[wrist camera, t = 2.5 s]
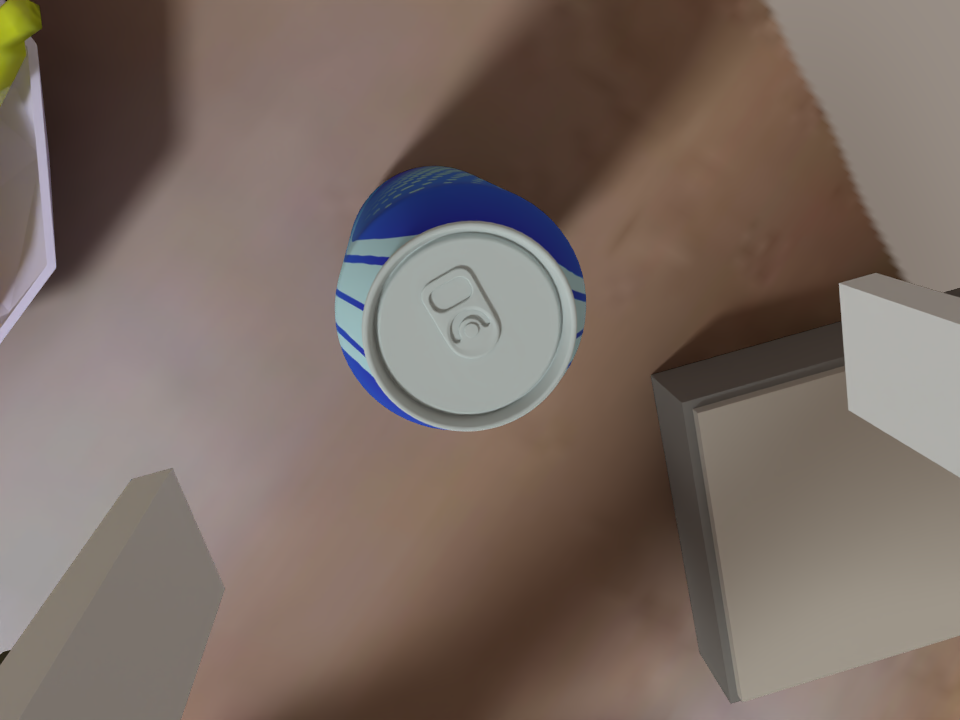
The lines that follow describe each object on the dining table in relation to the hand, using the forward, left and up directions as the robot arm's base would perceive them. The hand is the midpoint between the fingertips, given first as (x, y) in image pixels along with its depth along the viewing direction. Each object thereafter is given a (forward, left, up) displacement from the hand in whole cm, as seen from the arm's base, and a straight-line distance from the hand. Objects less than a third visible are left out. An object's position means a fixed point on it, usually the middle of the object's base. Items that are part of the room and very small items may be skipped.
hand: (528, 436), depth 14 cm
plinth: (+20, -20, -24) cm, 37 cm away
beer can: (0, 0, -25) cm, 25 cm away
